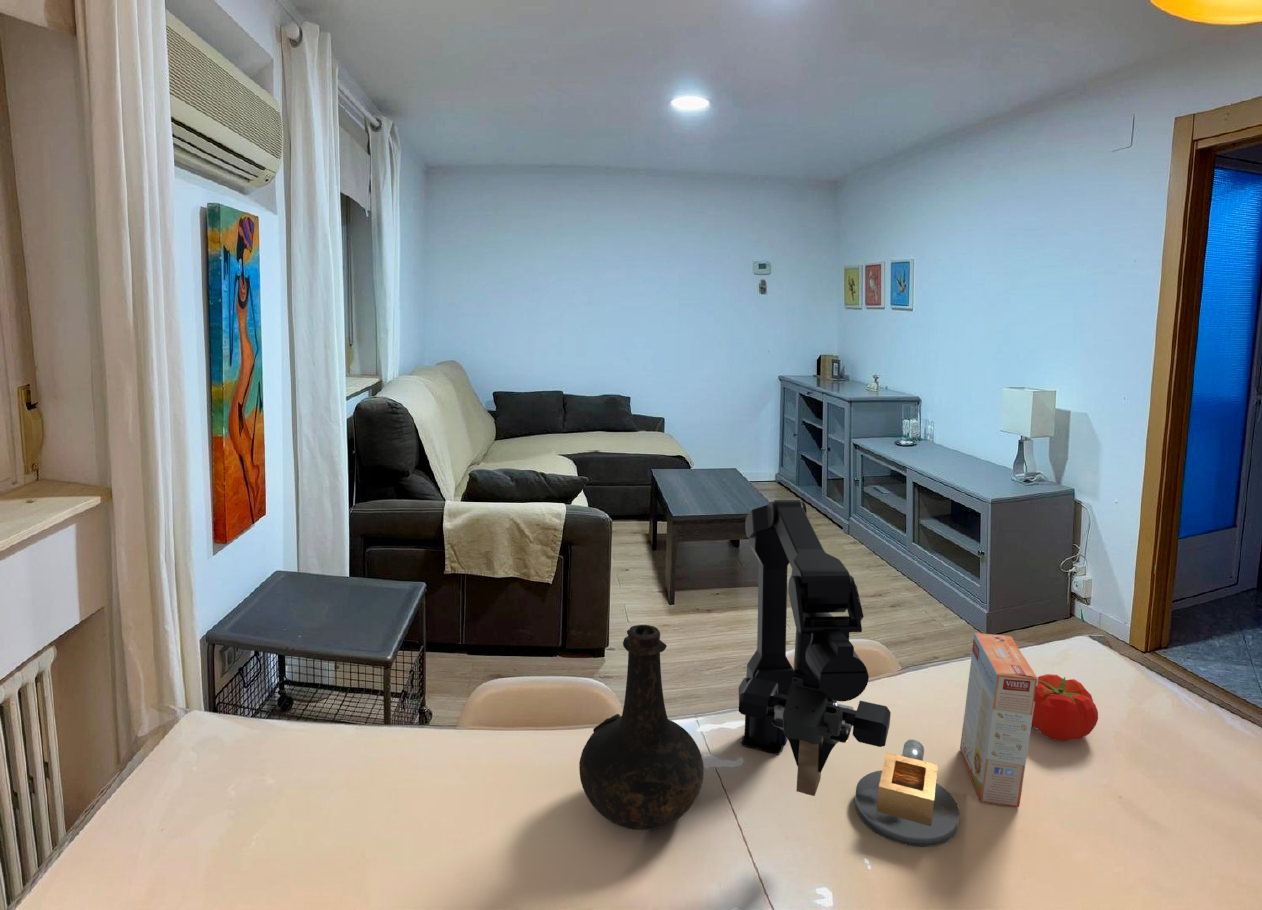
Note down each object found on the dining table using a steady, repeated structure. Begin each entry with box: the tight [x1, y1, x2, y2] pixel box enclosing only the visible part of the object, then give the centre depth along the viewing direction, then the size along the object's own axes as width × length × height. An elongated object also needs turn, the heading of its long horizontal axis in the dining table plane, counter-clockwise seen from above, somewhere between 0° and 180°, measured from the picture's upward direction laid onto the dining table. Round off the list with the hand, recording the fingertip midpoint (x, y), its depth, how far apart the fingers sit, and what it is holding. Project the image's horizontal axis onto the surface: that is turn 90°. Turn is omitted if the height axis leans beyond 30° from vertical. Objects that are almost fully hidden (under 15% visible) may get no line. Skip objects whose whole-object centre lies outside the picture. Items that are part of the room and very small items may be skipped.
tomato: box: [1031, 674, 1099, 742], centre depth 132 cm, size 13×12×8 cm
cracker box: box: [959, 632, 1038, 808], centre depth 118 cm, size 14×6×21 cm, turn 168°
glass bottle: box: [578, 624, 705, 831], centre depth 109 cm, size 18×18×28 cm
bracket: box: [854, 739, 960, 848], centre depth 113 cm, size 14×17×6 cm
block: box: [796, 740, 823, 797], centre depth 103 cm, size 2×4×8 cm, turn 156°
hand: (809, 767), depth 103 cm, fingers closed on block, 2 cm apart
